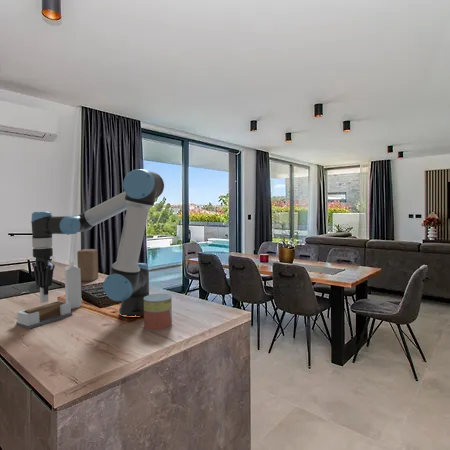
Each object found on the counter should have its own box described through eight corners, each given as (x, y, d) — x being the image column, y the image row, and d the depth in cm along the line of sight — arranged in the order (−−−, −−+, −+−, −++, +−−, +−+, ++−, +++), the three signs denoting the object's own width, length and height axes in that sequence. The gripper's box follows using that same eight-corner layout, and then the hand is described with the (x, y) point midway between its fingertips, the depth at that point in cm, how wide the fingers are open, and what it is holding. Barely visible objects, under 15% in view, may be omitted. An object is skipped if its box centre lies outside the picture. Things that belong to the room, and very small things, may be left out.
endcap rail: (72, 315, 150) (72, 303, 149) (30, 328, 133) (29, 315, 133) (58, 311, 155) (58, 300, 154) (16, 324, 138) (15, 311, 138)
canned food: (173, 329, 132) (173, 299, 131) (144, 332, 129) (144, 302, 128) (170, 320, 143) (169, 292, 142) (143, 323, 140) (142, 294, 139)
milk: (68, 309, 158) (66, 263, 157) (65, 306, 163) (63, 261, 162) (82, 306, 162) (80, 262, 161) (78, 303, 167) (77, 260, 165)
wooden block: (92, 281, 216) (91, 251, 215) (77, 281, 216) (76, 251, 215) (98, 278, 226) (97, 248, 225) (84, 278, 226) (83, 248, 225)
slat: (63, 313, 150) (63, 302, 149) (29, 323, 137) (29, 311, 136) (58, 312, 151) (58, 301, 151) (25, 322, 138) (24, 310, 138)
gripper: (60, 247, 142) (61, 301, 144) (42, 245, 149) (43, 297, 150) (43, 249, 136) (45, 306, 137) (25, 247, 142) (27, 301, 144)
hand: (44, 301), depth 144 cm, fingers closed
